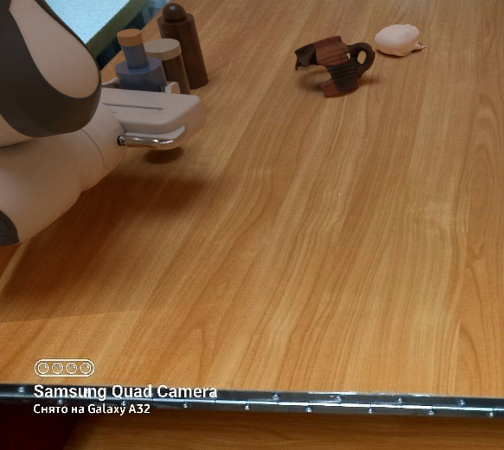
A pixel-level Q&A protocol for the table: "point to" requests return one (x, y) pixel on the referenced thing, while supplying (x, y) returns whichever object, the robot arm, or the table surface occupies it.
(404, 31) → the pale pink rounded lump
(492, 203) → the table surface
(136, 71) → the blue bottle
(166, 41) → the salt shaker
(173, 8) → the pepper mill
